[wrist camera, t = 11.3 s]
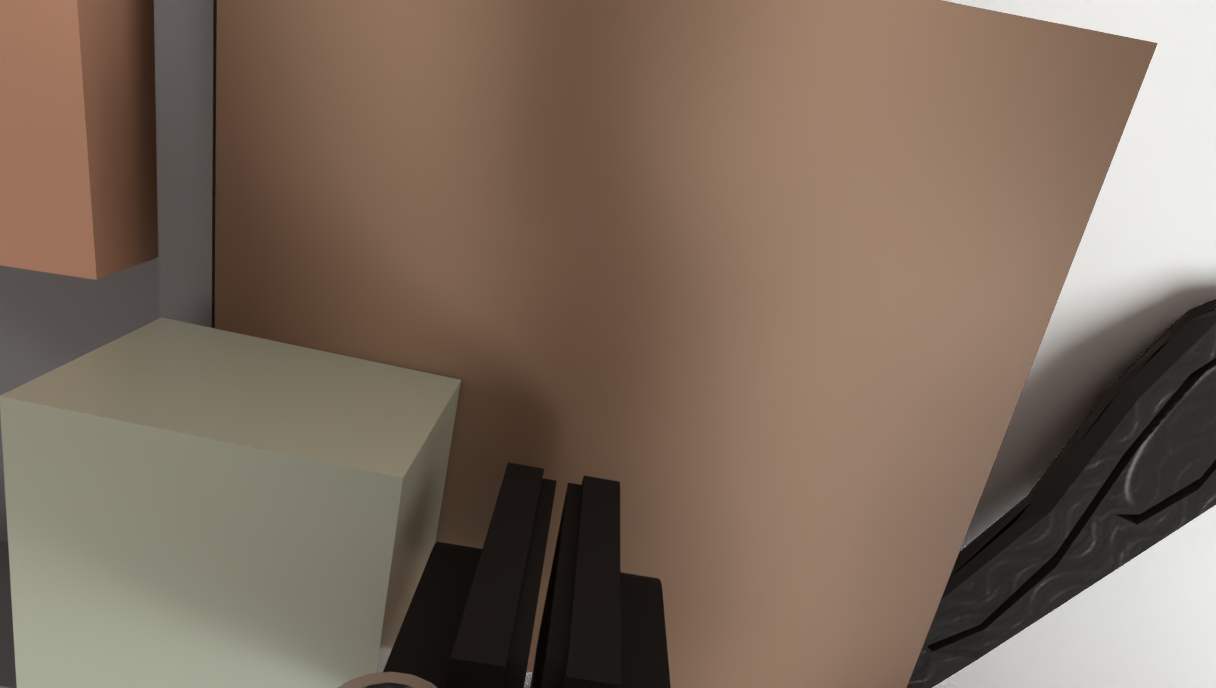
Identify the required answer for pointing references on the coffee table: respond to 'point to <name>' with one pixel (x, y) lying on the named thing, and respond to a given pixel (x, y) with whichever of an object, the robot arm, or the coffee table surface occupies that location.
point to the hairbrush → (1090, 502)
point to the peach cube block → (77, 136)
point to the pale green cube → (218, 511)
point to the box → (127, 300)
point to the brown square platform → (685, 272)
